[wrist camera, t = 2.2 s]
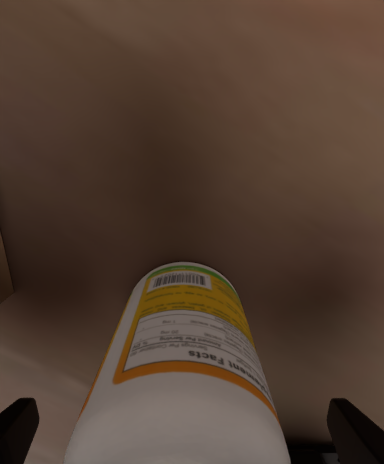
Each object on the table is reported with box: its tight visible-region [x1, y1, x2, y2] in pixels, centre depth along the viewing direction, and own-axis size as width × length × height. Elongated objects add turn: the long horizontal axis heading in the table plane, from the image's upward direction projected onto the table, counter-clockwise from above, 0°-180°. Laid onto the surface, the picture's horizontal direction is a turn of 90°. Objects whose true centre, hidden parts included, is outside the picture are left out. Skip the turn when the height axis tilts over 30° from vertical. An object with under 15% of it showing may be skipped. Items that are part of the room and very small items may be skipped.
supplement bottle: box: [63, 262, 291, 464], centre depth 8 cm, size 5×5×10 cm
